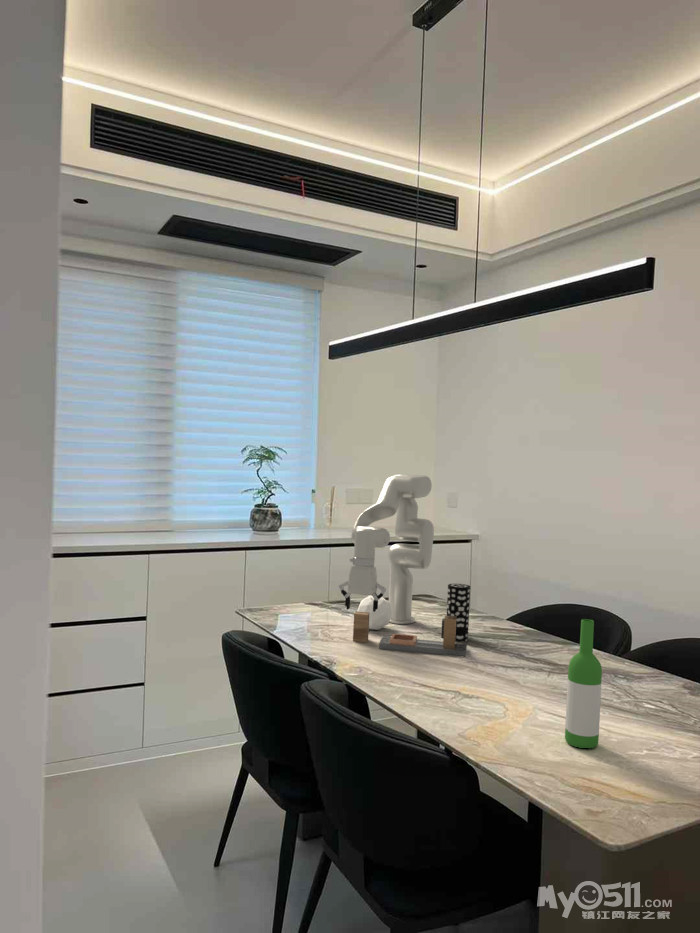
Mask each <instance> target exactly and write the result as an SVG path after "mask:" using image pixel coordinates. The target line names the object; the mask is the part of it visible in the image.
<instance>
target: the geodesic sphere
mask: <svg viewBox="0 0 700 933" xmlns="http://www.w3.org/2000/svg"><path fill="white" fill-rule="evenodd" d="M373 601H374V598H373V596H372V595H367V597H365V598H364V599H362V600H360V604H359V605H358V608H357V610H356V611H358V612H370V613H369V630H374V631H379V630H382V629H383V628H385V626H388V625H389V623H390V622H389V621H390V618H391V616H392V611H391V607H390V603H389V600H386V599H385V598H384V596H382V597H381V598H380V599H379V600H378V609H376V611H375V612H373Z"/></svg>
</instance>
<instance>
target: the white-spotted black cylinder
mask: <svg viewBox="0 0 700 933" xmlns="http://www.w3.org/2000/svg"><path fill="white" fill-rule="evenodd" d="M446 599H447V600H446V616H457V618H456V639H455V643H461V642H462V643H463V642H467V641H469V623H470V606H471V604H470V602H471V586H470V585H469V584H463V583H448V584H447V598H446Z"/></svg>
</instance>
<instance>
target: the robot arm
mask: <svg viewBox="0 0 700 933" xmlns="http://www.w3.org/2000/svg"><path fill="white" fill-rule="evenodd" d="M432 487H433V485H432V480H431V478H430V477H429V476H428V475H420V474H407V473H406V474H405V473H398V474H394V475H392V476H389V477H388V478H386V480H385V482H384V484H383V486H382V489H381V490H380V493H379V496H378V498H377V500H376V502H375V504H373V505H371V506H369V507H368V508H367V509H365V510H364V511H363V512H362V513H360V514H359V516H358V518H356V521H355V523H354V525H353V528H352V531H351V535H350V536H351V541H352V543H353V544H354V549H353V550H354V552H353V558H349V563H352V565H351V566H350V568H349V574H348V575H349V576H348V581H345V582H343V583H340V584H339V585H338V588H339V591H340V592H341V594H342V596H343V597H344V598H345V602H344V606H345V607H346V610H350V608H351V595H358V596H359V595H362V596H370V595H372V596H373V598H374V601H373V612H375V611H376V609H378V600H379V599H380V598H381V597H384V595H385V593H386V592H387V588H386V587H384V586H383V585H381V584H379V583H378V579H377V575H378V574H377V567H376V566H375V556H376V549H383V548H385V547H387V546H388V545H389V543H390V540H391V534H390V532H389V531H388V530H387V529H386V528H384V527H378V526H370V525H372V524H373V523H375V522H379V521H381V520H385V519H387V518H392V517H393V516H395V515H396V517H395V526H394V533H395V537H396V538H397V539H398V540H401V541H404V542H405V541H406V542H407V541H408V542H418V543H419V544H410V543H395V544H392V545H391V546H390V547H389V549H388V564H389V583H388V584H389V587H388V602H389V603H390V607H391V611H392V616H391V618H390V621H389V623H390V624H398V625H408V624H413V623H415V622H416V619H415V617H413V616H412V604H413V587H414V586H413V585H414V579H413V574H412V572H411V571H410V569H416V570H426V569H428V568H429V567H430V565H431V562H432V561H431V560H432V554H433V547H434V546H433V543H434V534H435V533H434V532H435V529H434V525H433V523H432V521H431V520H429V519H427V518H420V517H419V518H418V511H419V506H418V503H417V501H416V499H421V498H425V497H427V496H428V495H429V494H430V493H431V491H432ZM346 586H347V591H346V590H345V588H344V587H346ZM377 589H378V590H380V593H379V594H377Z"/></svg>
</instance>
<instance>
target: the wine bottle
mask: <svg viewBox="0 0 700 933" xmlns="http://www.w3.org/2000/svg"><path fill="white" fill-rule="evenodd" d="M594 627H595V621H594V620H593V619H587V618H582V619H581V620H580V634H579V635H580V637H579V652H577V653H576V654H574V655H573V656H572V658H570V661H569V663H568V671H567V688H566V689H567V690H566V706H565V723H564V724H565V726H564V728H565V730H564V739H565V741H566V743H567V744H568V745H569V744H570V746H571V745H572V746H571V747H573V746H575V747H574V748H576V747H579V748H578V749H580V748H593V749H595V748H597V746H598V744H599V739H600V738H599V737H600V736H599V735H600V721H601V696H602V676H603V675H602V674H603V669H602V665H601V662H600V661H599V659H598V658H597V657H596V656H595V654H594V653H593V652H594V651H593V648H594ZM594 747H595V748H594Z"/></svg>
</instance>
